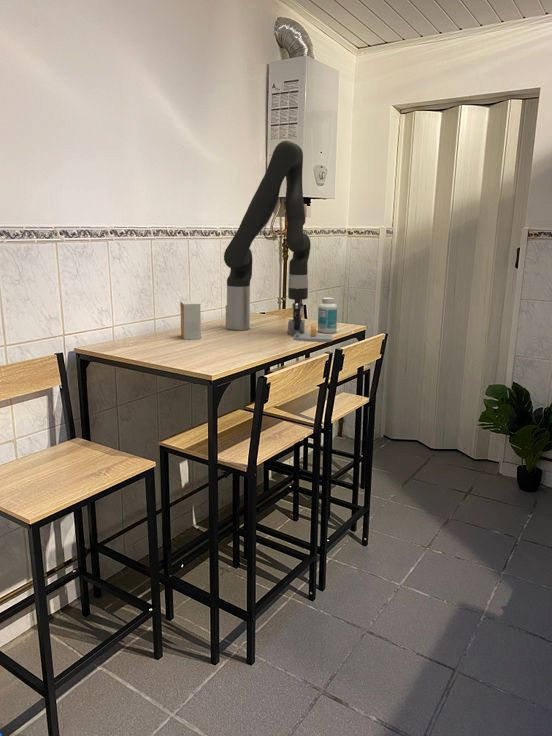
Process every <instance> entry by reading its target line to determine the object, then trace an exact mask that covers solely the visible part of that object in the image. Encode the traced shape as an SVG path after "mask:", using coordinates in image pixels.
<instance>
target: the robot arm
mask: <svg viewBox="0 0 552 736" xmlns="http://www.w3.org/2000/svg"><path fill="white" fill-rule="evenodd" d="M303 163H304V151H303V150H302V148H301V147H300V146H299V145H298V144H297V143H295V142H293V141H290V140H282V141H281V142H279V143H278V144H277V145H276V146H275V148H274V150H273V152H272V154H271V157H270V160H269V163H268V166H267V168H266V170H265V173H264V175H263V177H262V179H261V181H260V182H259V185H258V187H257V189H256V191H255V193H254V195H253V197H252V198H251V200H250V202H249V205H248V207H247V209H246V212H245V214H244V215H243V217H242V220H241V222H240V225H239V226H238V229H237V231H236V233H235V234H234V236H233V237H232V239H231V240H230V242H229V244H228V245H227V247H226V249H225V250H224V254H223V261H224V264H225V266H226V267H228V268H230V271H229V276H228V277H227V278H226V304H225V330H232V331H241V330H242V331H244V330H245V331H246V330H250V326H251V325H250V324H251V323H250V317H251V315H250V314H251V309H250V308H251V307H250V306H251V304H250V302H251V279H252V275H253V253H252V249H251V246H252V243H253V242H254V239H255V238H256V237H257V236H258V235H259V233H260V232H261V231H262V230H263V229H264V227H266V225H267V224H268V222H269V221H270V219H271V218H272V215H273V213H274V212H275V209H276V207H277V204H278V202H279V196H280V193H281V192H280V191H281V188H282V187H281V186H282V184H283V182H284V179H285V180H286V181H285V183H286V185H285V186H286V191H285V201H284V203H285V205H284V206H285V207H284V208H285V215H286V217H285V218H286V222H287V223H286V232H285V243H286V246H287V248H288V249H289V250H290V252H293V253H292V258H291V259H290V260H289V263H288V264H289V265H288V268H289V269H288V271H289V272H288V282H287V283H288V286H287V295H288V296H287V297H288V299H289V300H293V301H294V303H292V319H293V320H294V330H300V320H302V317H303V312H304V303H303V300H304V301H305V300H308V298H309V297H308V296H309V278H308V276H309V275H308V268H309V267H308V262H309V258H310V252H311V248H312V247H311V246H312V244H311V239H310V237H309V235H308V234H306V233H304V225H305V224H306V212H305V204H304V201H305V200H304V191H303V165H304V164H303Z"/></svg>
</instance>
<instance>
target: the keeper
mask: <svg viewBox="0 0 552 736" xmlns="http://www.w3.org/2000/svg"><path fill="white" fill-rule="evenodd" d="M293 340H299V342H301V341H300V340H304V341H303V342H318V343H319V342H321V343H323V342H324V343H332V342H333V335H332V334H324V333H323V334H320V333H318V334H317V325H315V324H313V325H310V333H304V334H300V332H297V333H295V335H294V336H293Z"/></svg>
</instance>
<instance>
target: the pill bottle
mask: <svg viewBox="0 0 552 736" xmlns="http://www.w3.org/2000/svg"><path fill="white" fill-rule="evenodd" d="M321 302H322V303H320V304H319V305H318V312H317V313H318V315H317V316H318V317H317V331H318V332H319V333H323V334H334V333H336V332H337V329H338V327H337V326H338V325H337V324H338V306H337V303H334V302H335V298H334V297H322V298H321Z"/></svg>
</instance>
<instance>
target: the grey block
mask: <svg viewBox="0 0 552 736" xmlns="http://www.w3.org/2000/svg"><path fill="white" fill-rule="evenodd" d="M305 323H306V320H305V319H301V320H300V330H294V320H293V318H292V319H291V318H290V319H289V320H288V322H287V335H289V336H290V335H291V336H293V335H295V333H297V332H300V334H305V325H306V324H305Z"/></svg>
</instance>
